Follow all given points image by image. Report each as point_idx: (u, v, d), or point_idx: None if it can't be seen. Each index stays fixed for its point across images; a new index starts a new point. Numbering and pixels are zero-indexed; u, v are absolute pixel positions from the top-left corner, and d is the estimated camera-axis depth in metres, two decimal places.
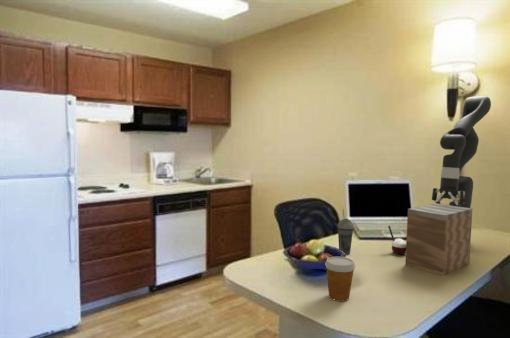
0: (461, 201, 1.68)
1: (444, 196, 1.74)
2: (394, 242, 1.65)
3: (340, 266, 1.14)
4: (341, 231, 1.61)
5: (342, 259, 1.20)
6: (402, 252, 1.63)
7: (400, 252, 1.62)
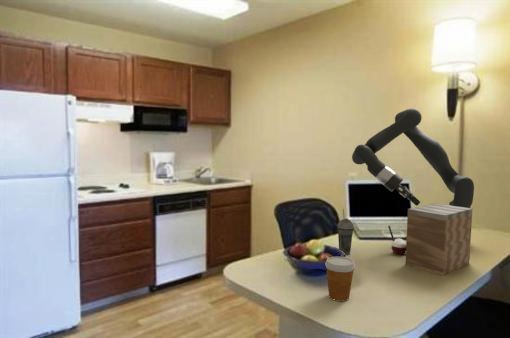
0: (405, 197, 1.57)
1: None
2: (394, 242, 1.65)
3: (340, 266, 1.14)
4: (341, 231, 1.61)
5: (342, 259, 1.20)
6: (402, 252, 1.63)
7: (400, 252, 1.62)
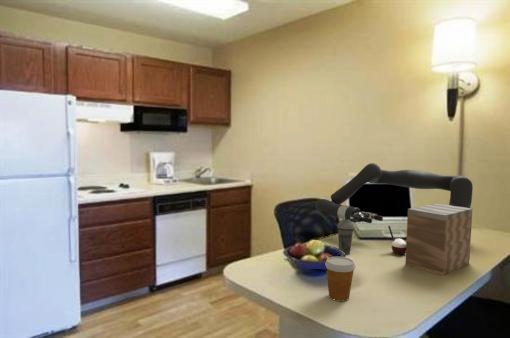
0: None
1: None
2: (394, 242, 1.65)
3: (340, 266, 1.14)
4: (341, 231, 1.61)
5: (342, 259, 1.20)
6: (402, 252, 1.63)
7: (400, 252, 1.62)
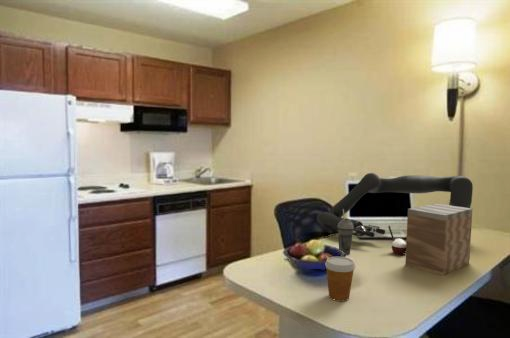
0: None
1: None
2: (394, 242, 1.65)
3: (340, 266, 1.14)
4: (341, 231, 1.61)
5: (342, 259, 1.20)
6: (402, 252, 1.63)
7: (400, 252, 1.62)
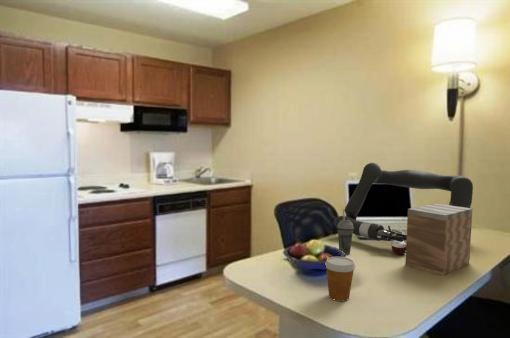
0: None
1: None
2: (394, 242, 1.64)
3: (340, 266, 1.14)
4: (341, 231, 1.61)
5: (342, 259, 1.20)
6: (402, 252, 1.62)
7: (400, 252, 1.62)
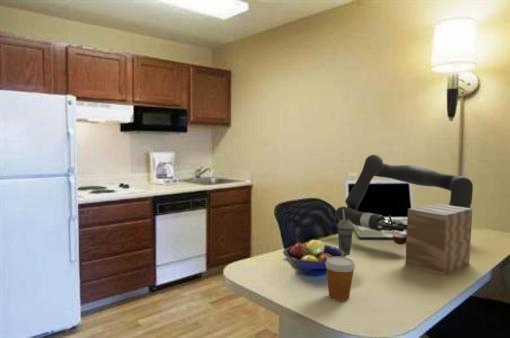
0: None
1: None
2: (395, 232, 1.64)
3: (340, 266, 1.14)
4: (341, 231, 1.61)
5: (342, 259, 1.20)
6: (403, 242, 1.62)
7: (401, 242, 1.62)
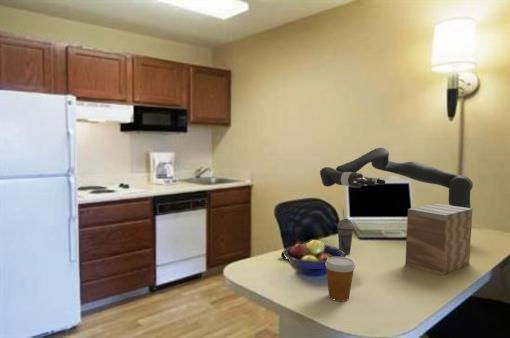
0: (361, 185, 1.78)
1: None
2: None
3: (340, 266, 1.14)
4: (341, 231, 1.61)
5: (342, 259, 1.20)
6: None
7: None
